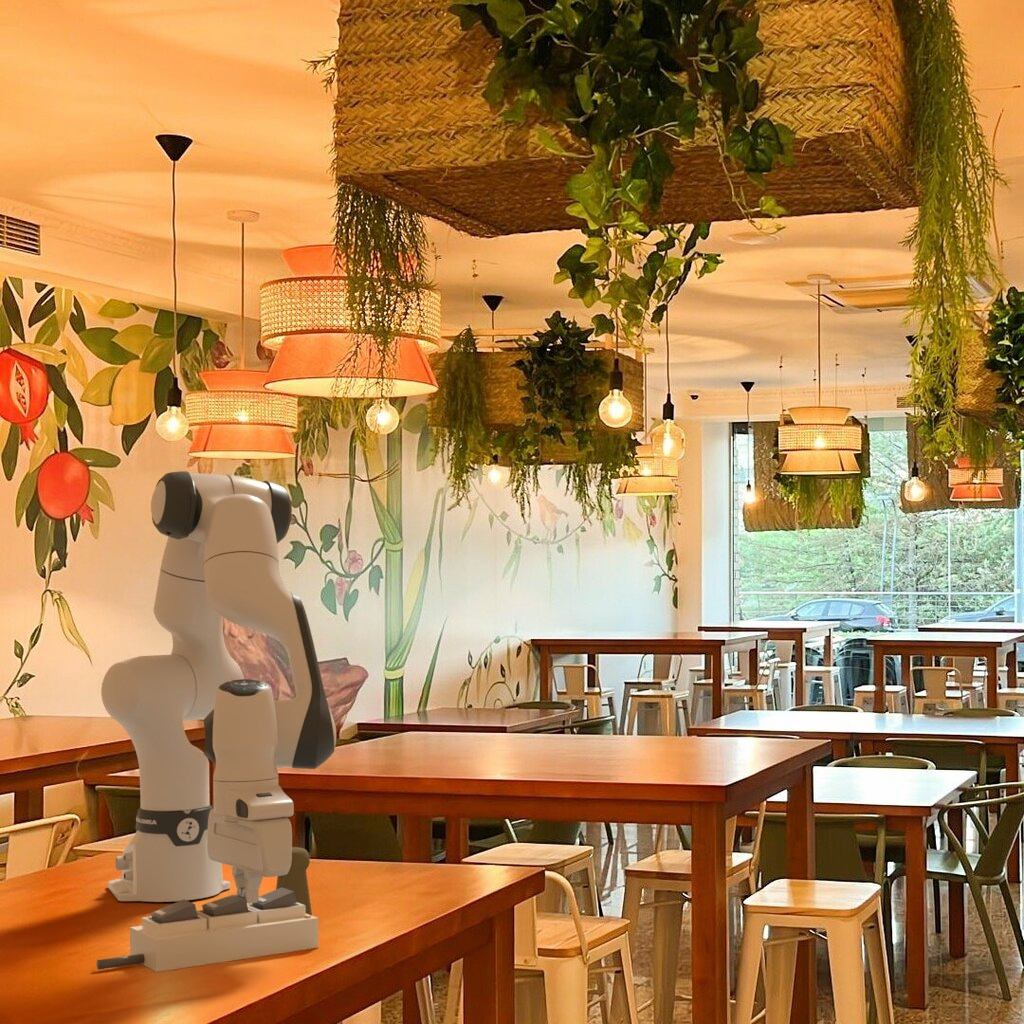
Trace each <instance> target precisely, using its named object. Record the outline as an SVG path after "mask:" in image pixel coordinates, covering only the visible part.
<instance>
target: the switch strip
mask: <svg viewBox="0 0 1024 1024" xmlns="http://www.w3.org/2000/svg"><path fill="white" fill-rule="evenodd" d="M247 907H248V910H247V911H244V912H241V913H238V914H230V915H223V916H215V917H211V916H208V915H206V914H204V913H203V909H200V910H199V909H198V910H197V909H196V911H197V914H198V916H195V917H193V918H191V919H188V920H185V921H177V922H170V923H162V924H159V923H157V922H155V921H153V920H152V916H151V915H150V916H146V917H145V916H144V917H141V925H137V926H130V927H129V932H130V933H129V936H130V937H129V939H130V940H129V945H130V946H129V951H130V952H129V955H124V956H117V957H109V958H103V959H102V958H101V959H97V960H96V969H97V970H104V969H106V970H107V969H111V968H113V969H114V968H119V967H125V966H126V967H127V966H132V965H139V964H141V965H143V966H145V967H147V968H148V969H150V970H152V971H154V972H157V973H158V972H165V971H171V970H178V969H185V968H192V967H197V966H198V967H199V966H204V965H205V966H206V965H211V964H212V965H213V964H217V963H218V964H219V963H225V962H231V961H239V960H244V959H252V958H259V957H265V956H273V955H278V954H284V953H285V954H286V953H291V952H297V951H303V950H304V951H305V950H311V949H319V917H316V916H314V915H312V916H311V915H309V914H306V906H305V905H303V904H301V903H298V902H297V903H295V904H292V905H290V906H288V907H283V908H275V909H268V910H260V909H257V908H254V907H253V905H252V903H250V904H249V903H247Z"/></svg>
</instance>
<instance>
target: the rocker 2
mask: <svg viewBox="0 0 1024 1024" xmlns="http://www.w3.org/2000/svg"><path fill="white" fill-rule="evenodd" d="M247 904H248V903H247V901H246V899H245V898H243V897H240V896H238V895H237V894H235V893H234V894H231V895H228V896H225V897H223V898H220V899H217V900H213V901H211V902H208V903H205V904H202V905H201V906H202V907H201V908H202V910H203V913H204V914H206V915H208V916H211V917H215V916H223V915H230V914H238V913H241V912H244V911H247V910H248V907H247Z"/></svg>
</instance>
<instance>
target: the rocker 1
mask: <svg viewBox="0 0 1024 1024" xmlns="http://www.w3.org/2000/svg"><path fill="white" fill-rule="evenodd" d="M151 916H152V920H153V921H155V922H157V923H159V924H162V923H170V922H177V921H185V920H188V919H191V918H193V917H195V916H198V914H197V907H196V904H195V903H194V902H190V900H181V901H175V902H174V903H171V904H169V905H167V906H163V907H162V908H160V909H157V910H154V911H152V912H151V913H150V917H151Z"/></svg>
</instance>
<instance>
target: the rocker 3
mask: <svg viewBox="0 0 1024 1024" xmlns="http://www.w3.org/2000/svg"><path fill="white" fill-rule="evenodd" d="M295 903H297V901H296V897H295V893H294V891H291V890H288V889H286V888H283V887H281V888H279V889H277V890H276V889H274V890H273V891H270V892H267V893H265V894H263V895H259V900H258V902H256V903H251V904H252V905H253V907H254V908H257V909H260V910H268V909H275V908H283V907H288V906H290V905H292V904H295Z"/></svg>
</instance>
